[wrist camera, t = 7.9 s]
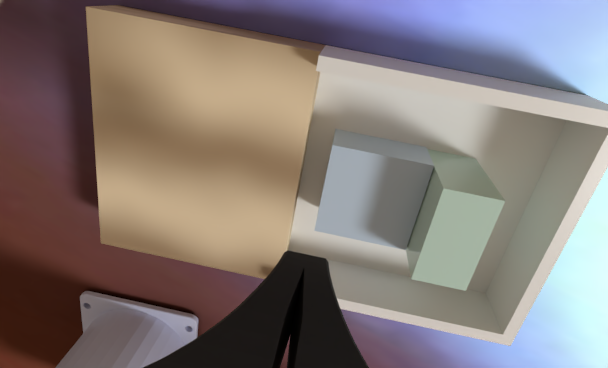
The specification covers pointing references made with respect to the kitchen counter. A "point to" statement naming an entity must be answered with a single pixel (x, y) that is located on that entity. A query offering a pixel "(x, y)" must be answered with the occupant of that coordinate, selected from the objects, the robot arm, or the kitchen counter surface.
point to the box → (465, 142)
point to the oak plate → (198, 136)
